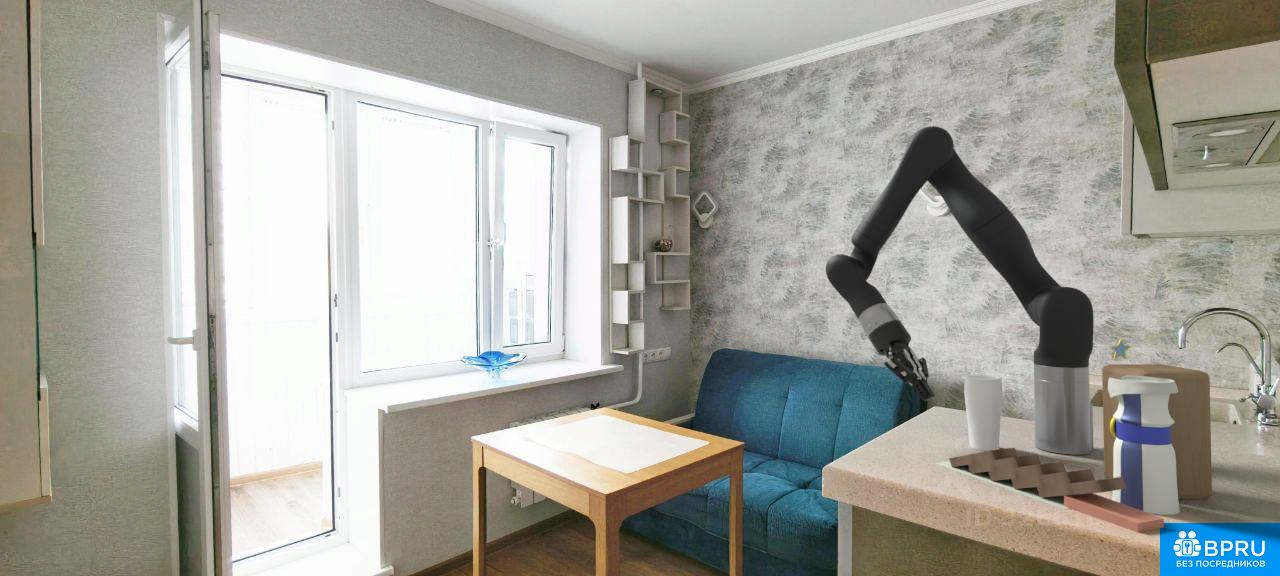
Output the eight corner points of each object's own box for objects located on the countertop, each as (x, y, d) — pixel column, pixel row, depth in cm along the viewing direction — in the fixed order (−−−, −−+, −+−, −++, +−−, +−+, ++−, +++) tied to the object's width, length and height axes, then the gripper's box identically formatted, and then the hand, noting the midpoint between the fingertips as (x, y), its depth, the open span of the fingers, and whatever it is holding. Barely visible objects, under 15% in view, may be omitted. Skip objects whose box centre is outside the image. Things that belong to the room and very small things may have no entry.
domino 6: (1088, 491, 90) (1163, 518, 80) (1088, 502, 90) (1163, 530, 80) (1064, 495, 88) (1137, 523, 79) (1063, 506, 88) (1137, 534, 79)
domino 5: (1060, 483, 94) (1122, 476, 85) (1064, 493, 93) (1127, 488, 84) (1036, 486, 92) (1097, 480, 84) (1040, 497, 92) (1102, 492, 83)
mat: (963, 461, 113) (963, 459, 113) (1099, 506, 89) (1099, 503, 89) (934, 465, 111) (934, 463, 111) (1064, 511, 87) (1064, 509, 87)
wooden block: (1164, 481, 100) (1162, 363, 100) (1215, 502, 90) (1213, 371, 90) (1101, 480, 101) (1099, 363, 101) (1145, 500, 91) (1142, 371, 91)
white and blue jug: (1095, 503, 90) (1092, 340, 91) (1127, 494, 94) (1124, 337, 94) (1160, 522, 83) (1157, 344, 83) (1192, 511, 86) (1189, 341, 87)
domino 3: (1010, 468, 102) (1062, 461, 93) (1014, 478, 102) (1066, 471, 93) (988, 471, 101) (1039, 464, 92) (991, 481, 100) (1042, 474, 91)
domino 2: (989, 461, 106) (1037, 454, 97) (993, 470, 106) (1041, 463, 97) (968, 464, 105) (1014, 456, 96) (971, 473, 104) (1018, 467, 95)
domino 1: (970, 455, 110) (1014, 447, 101) (973, 464, 110) (1018, 457, 101) (949, 458, 109) (992, 450, 100) (951, 467, 108) (995, 460, 99)
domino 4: (1033, 475, 98) (1090, 468, 89) (1037, 485, 97) (1095, 479, 89) (1010, 478, 97) (1066, 472, 88) (1014, 489, 96) (1070, 483, 87)
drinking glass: (957, 447, 123) (956, 375, 123) (984, 444, 125) (983, 374, 125) (983, 455, 117) (982, 379, 117) (1011, 453, 118) (1010, 378, 119)
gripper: (879, 316, 122) (926, 389, 113) (913, 320, 130) (960, 389, 120) (853, 337, 127) (896, 408, 117) (888, 340, 134) (931, 407, 125)
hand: (929, 398), depth 119 cm, fingers closed
